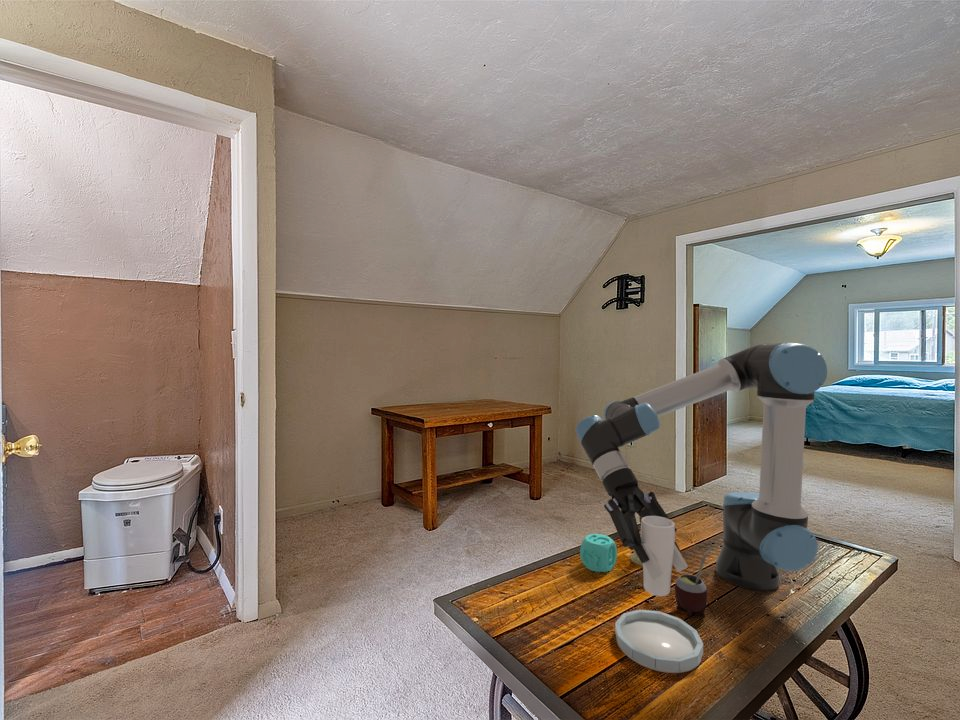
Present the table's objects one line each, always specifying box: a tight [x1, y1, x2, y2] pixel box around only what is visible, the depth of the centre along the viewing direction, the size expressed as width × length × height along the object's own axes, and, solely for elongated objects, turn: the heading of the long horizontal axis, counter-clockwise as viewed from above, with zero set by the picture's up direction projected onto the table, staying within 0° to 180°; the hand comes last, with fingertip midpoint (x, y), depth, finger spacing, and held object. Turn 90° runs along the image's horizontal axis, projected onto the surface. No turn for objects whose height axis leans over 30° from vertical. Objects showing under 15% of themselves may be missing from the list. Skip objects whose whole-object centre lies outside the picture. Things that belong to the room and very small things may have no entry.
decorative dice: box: [579, 533, 618, 573], centre depth 132 cm, size 8×8×8 cm
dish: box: [614, 609, 704, 674], centre depth 97 cm, size 17×17×2 cm
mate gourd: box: [674, 547, 713, 620], centre depth 109 cm, size 8×8×15 cm
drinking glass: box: [640, 516, 676, 597], centre depth 96 cm, size 7×7×15 cm
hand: (670, 573), depth 93 cm, fingers closed on drinking glass, 7 cm apart
